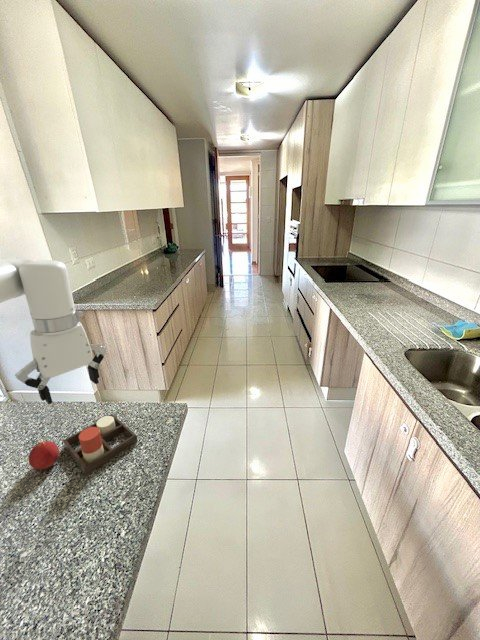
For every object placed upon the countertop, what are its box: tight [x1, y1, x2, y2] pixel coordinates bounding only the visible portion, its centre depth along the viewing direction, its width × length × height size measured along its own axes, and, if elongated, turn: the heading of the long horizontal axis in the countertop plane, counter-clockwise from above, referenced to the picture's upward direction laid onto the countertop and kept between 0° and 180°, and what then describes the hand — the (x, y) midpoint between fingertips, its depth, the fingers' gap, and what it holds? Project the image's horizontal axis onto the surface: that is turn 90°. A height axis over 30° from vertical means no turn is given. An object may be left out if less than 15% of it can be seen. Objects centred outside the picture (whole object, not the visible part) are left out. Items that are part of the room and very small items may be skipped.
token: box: [95, 415, 117, 436], centre depth 72 cm, size 4×4×4 cm
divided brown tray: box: [62, 413, 138, 477], centre depth 69 cm, size 13×13×3 cm
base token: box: [82, 445, 105, 465], centre depth 64 cm, size 4×4×4 cm
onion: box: [28, 440, 60, 470], centre depth 62 cm, size 6×6×8 cm
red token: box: [78, 427, 102, 454], centre depth 63 cm, size 4×4×4 cm
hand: (72, 390), depth 60 cm, fingers open, 9 cm apart
